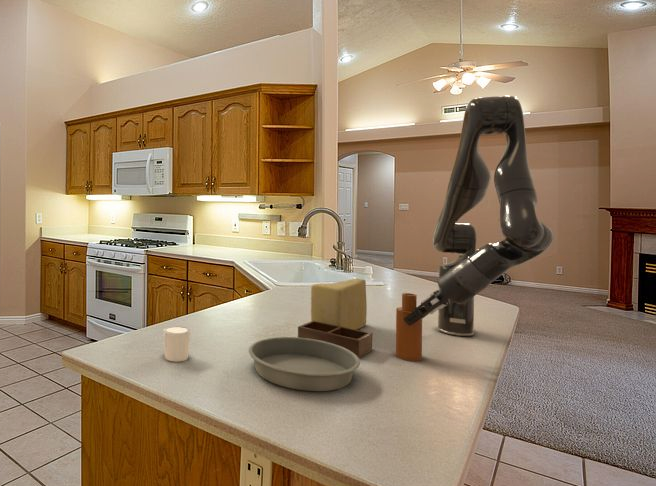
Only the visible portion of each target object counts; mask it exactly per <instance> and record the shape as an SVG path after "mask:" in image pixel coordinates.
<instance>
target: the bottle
mask: <svg viewBox="0 0 656 486" xmlns="http://www.w3.org/2000/svg"><path fill="white" fill-rule="evenodd" d="M417 296H418V295H417V294H415V293H410V292H403V293H401V307H397V308H396V309H395V313H396V314H395V320H396V321H395V356H396V357H397V358H399V359H401V360H404V361H411V362H419V361H421V360H422V358H423V319H422V318H421V319H419V320H418V321H417V322H415V323H414V324H413V325H411V326H409V325H408V324H407V323H406V322H405V321H404V318H405V317H406V316H408V315H409V314H410V313H412V312H413V311H414V309H415V308H416V307H417V305H418V304H417Z"/></svg>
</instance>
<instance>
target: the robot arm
mask: <svg viewBox="0 0 656 486" xmlns="http://www.w3.org/2000/svg"><path fill="white" fill-rule="evenodd" d="M523 111H524V110H523V108H522V104H521V102H520V100H519V99H518V98H517V96H513V95H497V96H496V95H495V96H485V97H483V96H482V97H475V98H472V99H470V101H469V102H468V104H467V105H466V107H465V111H464V115H463V119H462V124H461V130H460V138H459V142H458V143H459V144H458V149H457V153H456V156H455V161H454V164H453V167H452V171H451V174H450V177H449V181H448V185H447V190H446V194H445V198H444V201H443V206H442V209H441V212H440V215H439V217H438V219H437V222H436V224H435V227H434V230H433V235H432V246H433V248H434V250H435V251H437V252H439V253H441V254H457V255H458V257H457V258H456V259H454V260H452V261H449V262H446V263H443V264H440V265H439V266H438V278H437V281H436V282H437V283H436V284H437V285H438V289H436V290H435V291H433V292H431V293H430V294H429V295H428V296H427V297H426V298H425V299H424V300H422V301H421V302H420V304H419V305H418V306H416V308H415V309H414V311H413V312H412V313H410V314H409V315H408V316H406V317H405V318H404V321H405V322H406V323H407V324H408V325H409V326H411V325H413V324H414V323H415V322H417V321H418V320H419V319H421V318H422V320H423V319H424V318H425V317H427V316H429V315H433V314H435V313H436V312H437V311H438V312H437V318H438V319H437V331H439V332H440V333H443V334H447V335H451V336H458V337H472V336H474V335H475V331H474V328H475V327H474V325H475V324H474V323H475V297H476V296H477V295H478V294H479V293H482V292H483V291H484V290H485V289H487V288H488V287H489V286H490V285H491V284H492V283H493V282H494V281H496V280H497V279H498V278H500V277H501V276H502V275H504V274H506V273H507V272H508V271H510V270H511V269H512V268H515V267H517V266H519V265H523V264H524V263H526V262H528V261H530V260H533V259H534V258H536V257H538V256H540V255H542V254H543V253H544V252H546V251H547V250H548V249H549V248H550V247H551V246H552V244H553V242H554V236H555V235H554V232H553V230H552V229H551V228H550V226H548V225H547V224H546V223H543V222H542V221H540V220H539V218H538V216H537V212H536V207H537V205H538V204H539V198H538V194H537V191H536V187H535V184H534V180H533V177H532V173H531V170H530V165H529V158H528V157H529V156H528V147H527V134H526V127H525V126H526V125H525V118H524V112H523ZM502 134H503V136H504V138H505V143H506V145H505V148H504V151H503V153H502V156H501V157H500V160H499V162H498V163H497V166H496V168H495V171H494V176H493V183H494V188H495V191H496V195H497V199H498V203H499V206H500V207H499V226H500V230H501V233H502V236H503V240H501V241H499V242H496V243H495V242H493V243H492V242H489V243H486V244H483V246H481V247H480V248H478V249H477V243H478V238H477V229H476V227H475V226H474V225H473V224H472V223H461V222H460V223H457V222H458V221H459V220H460V219H461V218H462V217H463V216H465V214H467V213H468V212H470V211H471V210H473V209H475V207H477V206H478V205H479V204H480V203H481V202H482V201H483V200H484V198H485V197H486V195H487V192H488V189H489V185H490V183H491V179H492V173H491V170H490V168H489V166H488V164H487V162H486V161H485V159H484V157H483V156H482V153H481V151H480V149H479V142H480V138H481V136H485V135H502Z"/></svg>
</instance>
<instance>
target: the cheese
mask: <svg viewBox="0 0 656 486" xmlns="http://www.w3.org/2000/svg"><path fill="white" fill-rule="evenodd" d="M310 291H311V292H310V320H311V321H317V322H322V323H327V324H331V325H336V326H341V327H346V328H350V329H355V330H359V329H361V328H364V327H365V326H366V325H367V315H368V314H367V312H368V310H367V309H368V308H367V307H368V303H367V285H366V280H365V278H352V279H348V280H343V281H339V282H331V283H314V284H312V285H311V288H310ZM311 321H310V322H311Z"/></svg>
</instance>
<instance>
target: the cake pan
mask: <svg viewBox="0 0 656 486" xmlns="http://www.w3.org/2000/svg"><path fill="white" fill-rule="evenodd" d="M248 353H249V355H250V357H251V358H252V359H253V363H254V368H255V371H256V373H257V374H258V375H259V376H260V377H261V378H263V379H264V380H266V381H268V382H269V383H272V384H275V385H277V386H281V387H284V388H287V389H293V390H296V391H297V390H299V391H306V392H328V391H336V390H339V389H342V388H345V387H346V386H348V385H349V384H350V383H351V381H352V378H353V375H354V371H356V370H357V369H358V368H359V367H360V365H361V360H360V358H358V357H357V356H356V355H355V354H354V353H353V352H351V351H350V350H348V349H346V348H344V347H341V346H338V345H336V344H332V343H329V342H325V341H320V340H315V339H308V338H298V336H296V337H295V336H279V337H270V338H264V339H260V340H258V341H255V342H253V343H252V344H251V345H250V346H249V348H248Z"/></svg>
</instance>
